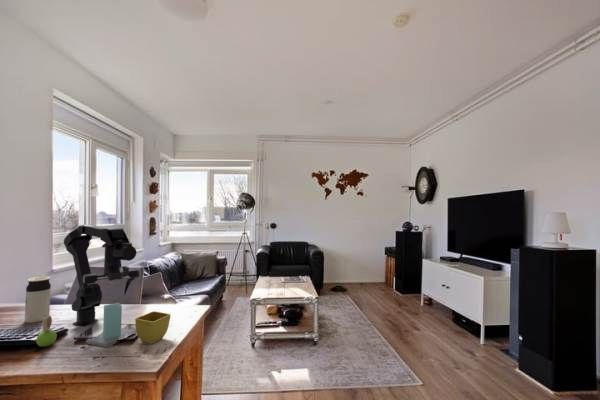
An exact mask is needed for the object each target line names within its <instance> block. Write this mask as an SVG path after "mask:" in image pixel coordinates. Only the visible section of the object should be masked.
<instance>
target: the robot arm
mask: <svg viewBox="0 0 600 400" xmlns="http://www.w3.org/2000/svg"><path fill="white" fill-rule="evenodd" d="M93 237H94V238H95V237H96V238H99V239H100V241H102V242H104V244H102V245H101V248H104V263H103V265H104V266H103V274H97V273H92V271H91V268H90V262H89V258H88V254H87V253H88V252H87V251H88V249H89V247H90V241H91V240H92V239H93ZM63 244H64V246H65V249H66V251H67V252H68V253H69V254H70V255H71V256H72V258H73V259H72V260H73V263H74V268H75V272H76V273H75V274H76V277H77V278H76V279H77V282H78V283H77V284H78V289H77V292H76V294H75V296H76V299H75V300H74V301H73V303H72V304H70V305H71V311H73V312H76V321H75V322H73V323H72V325H74V326H82V327H85V326H87V325H90V324H93V323H95V322H98V321H99V319H98V318H97V319H96V307H99V306H101V302H102V298H103V293H102V290H101V286H100V284H99V282H98V281H99V280H100V281H101V280H107V279H108V281H110V282H111V281H115V280H123V287H122V288H123V291H122V292H123V294H122V295H123V296H126V293H127V291H128V288H129V286H130V284H131V283H132V282H133V281H134V280H136V278H139V277H140V271H139V270H138V269H136V268H131V269H130V266H129V265H122V261H129V262H130V261H132V260H134V259H135V258H136V256H137V250H136V247H134V246H133V243H132V242H130V240H129V238H128V236H127V234H126V232H125V230H124V228H123V227H113V228H108V227H107V228H106V227H101V226H97V225H92V224H80V225H78V227H77V228H76V229H73V230H72V231H70V232H68V233H67V235H66V236H65V238H64V239H63ZM123 278H124V279H123Z"/></svg>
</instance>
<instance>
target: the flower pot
mask: <svg viewBox="0 0 600 400" xmlns="http://www.w3.org/2000/svg"><path fill="white" fill-rule="evenodd" d="M170 319H171V314H170V313H167V312H161V311H154V310H152V311H150V312H148V313H145V314H143V315H140V316H137V317H135V319H134V321H135V333H136V335H137V337H138V338H139V340H140V342H141V343H146V344H151V345H152V344H155V343H156V342H158V341H160V340H162V339H163V338H164V337H165V335H166V333H167V332H168V329H169V326H170V322H171V321H170Z"/></svg>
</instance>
